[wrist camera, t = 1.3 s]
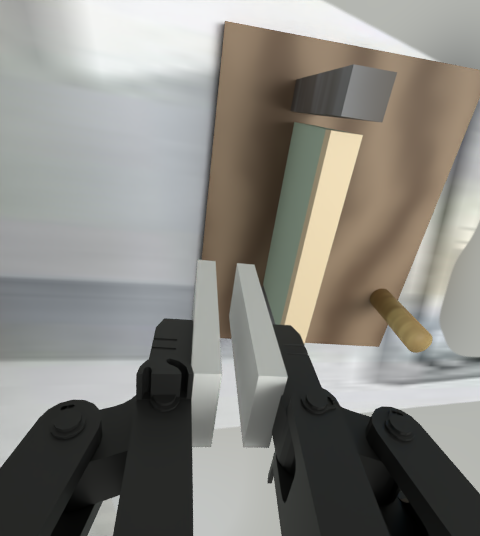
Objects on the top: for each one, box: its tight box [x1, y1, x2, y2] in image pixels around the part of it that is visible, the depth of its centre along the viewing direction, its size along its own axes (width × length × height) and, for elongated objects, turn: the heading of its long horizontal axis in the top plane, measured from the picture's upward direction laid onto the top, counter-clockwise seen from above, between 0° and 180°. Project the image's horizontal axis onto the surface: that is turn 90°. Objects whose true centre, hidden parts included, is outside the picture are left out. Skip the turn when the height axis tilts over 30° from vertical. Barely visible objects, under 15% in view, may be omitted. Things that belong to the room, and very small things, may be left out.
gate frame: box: [202, 21, 480, 352], centre depth 28 cm, size 23×30×13 cm
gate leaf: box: [261, 122, 363, 344], centre depth 28 cm, size 2×18×10 cm, turn 172°
